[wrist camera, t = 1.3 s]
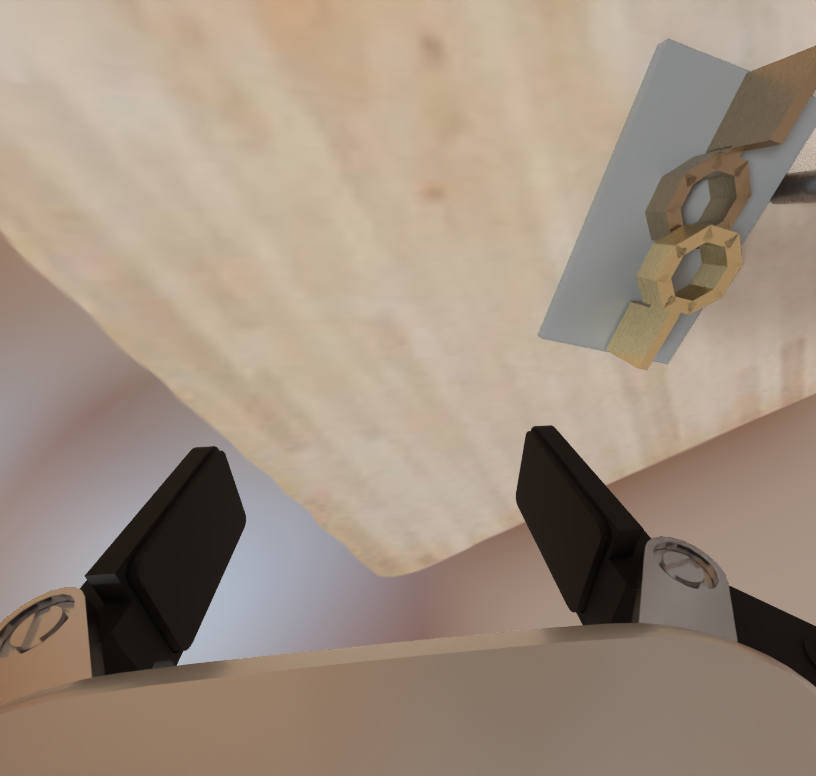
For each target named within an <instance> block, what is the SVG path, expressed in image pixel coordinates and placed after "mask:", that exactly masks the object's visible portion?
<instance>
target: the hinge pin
mask: <svg viewBox="0 0 816 776" xmlns="http://www.w3.org/2000/svg"><path fill="white" fill-rule="evenodd" d="M770 201H771V202H772V203H773V204H788V203H814V202H816V170H814V171H805V172H796V173H788V174H786V175H785V176H784V178H783V180H782V181H781V183H780V184H779V186H778V188H777V189H776V191H775V192H774V194H773V196H772V197H771V199H770Z"/></svg>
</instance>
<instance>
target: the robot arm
mask: <svg viewBox="0 0 816 776" xmlns="http://www.w3.org/2000/svg"><path fill="white" fill-rule="evenodd" d="M516 502H517V505H518V507H519V509H520V511H521V513H522V515H523V517H524V520H525V522H526V524H527V526H528V527H529V530H530V532H531V534H532V536H533V538H534V540H535V542H536V543H537V546H538V548H539V550H540V551H541V553H542V556H543V558H544V560H545V562H546V564H547V566H548V568H549V570H550V572H551V574H552V576H553V578H554V580H555V582H556V584H557V586H558V588H559V590H560V592H561V594H562V596H563V598H564V600H565V602H566V604H567V606H568V608H569V609H570V610H571V611H572V612H576V613H577V615H578V617H579V618H580V620H581V623H582V624H583V625H582V626H570V627H556V628H543V629H533V630H522V631H511V632H501V633H490V634H479V635H469V636H458V637H448V638H437V639H427V640H418V641H408V642H397V643H387V644H378V645H367V646H358V647H348V648H338V649H328V650H318V651H309V652H299V653H291V654H281V655H271V656H262V657H252V658H243V659H233V660H224V661H214V662H205V663H196V664H188V665H181V666H177V663H178V661H179V659H180V657H181V655H182V653H183V651H186V650H187V649H188V648H189V647H190V646H191V644H192V643H193V641H194V638H195V636H196V634H197V632H198V630H199V627H200V625H201V623H202V621H203V618H204V616H205V614H206V612H207V610H208V607H209V605H210V603H211V601H212V598H213V596H214V594H215V592H216V589H217V587H218V585H219V583H220V580H221V578H222V576H223V574H224V572H225V570H226V567H227V565H228V563H229V560H230V558H231V556H232V554H233V552H234V550H235V547H236V545H237V543H238V541H239V539H240V536H241V534H242V532H243V529H244V527H245V524H246V515H245V511H244V509H243V506H242V503H241V500H240V497H239V494H238V491H237V488H236V485H235V482H234V479H233V476H232V473H231V470H230V467H229V464H228V461H227V458H226V455H225V453H224V452H223V451H219V449H218V448H217V447H215V446H212V447H196V448H193V449H192V450H191V451H190V452H189V453H188V454H187V456H186V457H185V458H184V459H183V460H182V461H181V463H180V464H179V465H178V466H177V468H176V469H175V470H174V471H173V472H172V473H171V474H170V476H169V477H168V478H167V479H166V480H165V482H164V483H163V484H162V485H161V486H160V487H159V489H158V490H157V491H156V492H155V493H154V495H153V496H152V497H151V498H150V499H149V501H148V502H147V503H146V504H145V505H144V506H143V508H142V509H141V510H140V511H139V512H138V514H137V515H136V516H135V517H134V518H133V519H132V521H131V522H130V523H129V524H128V525H127V526H126V528H125V529H124V530H123V531H122V532H121V534H120V535H119V536H118V537H117V538H116V539H115V541H114V542H113V543H112V544H111V545H110V547H109V548H108V549H107V550H106V551H105V552H104V554H103V555H102V556H101V557H100V558H99V560H98V561H97V562H96V563H95V564H94V565H93V567H92V568H91V569H90V570H89V571H88V573H87V574H86V575H85V577H86V579H87V581H86V582H85V583H84V584H83V586H82V587H81V588H80V589H78V588H76V587H64V588H60V589H57V590H52V591H49V592H47V593H45V594H43V595H40V596H38V597H36V598H34V599H32V600H31V601H29V602H28V603H26V604H24V605H22V606H21V607H19V608H18V609H17V610H16V611H14V612H13V613H12V614H10V615H9V616H7V617H6V618H5V619H4V620H3V621H2V622H1V623H0V776H816V626H814V625H812V624H810V623H808V622H805V621H803V620H801V619H799V618H797V617H795V616H793V615H791V614H788V613H786V612H784V611H782V610H780V609H778V608H776V607H774V606H771V605H769V604H767V603H765V602H763V601H761V600H759V599H757V598H755V597H752V596H750V595H748V594H746V593H744V592H742V591H739V590H738V589H735V588H733V587H731V586H729V584H728V581H727V578H726V575H725V573H724V572H723V570H722V569H721V568H720V567H719V565H718V564H717V563H716V562H715V561H714V560H713V559H712V558H710V557H709V556H708V555H707V554H706V553H704V552H703V551H701V550H700V549H698V548H697V547H695V546H693V545H691V544H689V543H687V542H685V541H682V540H678V539H675V538H671V537H662V536H661V537H655V538H652V539H651V538H650V537H649V536H648V535H647V533H646V532H645V531H644V529H643V528H642V527H641V526H640V524H639V523H638V522H637V521H636V520H635V519H634V518H633V516H632V515H631V514H630V513H629V512H628V511H627V510H626V508H625V507H624V506H623V505H622V504H621V503H620V502H619V501H618V499H617V498H616V497H615V496H614V495H613V494H612V493H611V491H610V490H609V489H608V488H607V487H606V486H605V484H604V483H603V482H602V481H601V480H600V479H599V478H598V476H597V475H596V474H595V473H594V472H593V471H592V470H591V468H590V467H589V466H588V465H587V464H586V463H585V462H584V460H583V459H582V458H581V457H580V456H579V455H578V454H577V452H576V451H575V450H574V449H573V448H572V447H571V446H570V444H569V443H568V442H567V441H566V440H565V439H564V438H563V436H562V435H561V434H560V433H559V432H558V431H557V430H556V428H555V427H553V426H551V425H549V426H534V427H533V428H532V429H531V431H528V432H527V433H526V437H525V443H524V449H523V455H522V461H521V467H520V473H519V479H518V485H517V491H516Z"/></svg>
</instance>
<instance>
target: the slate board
mask: <svg viewBox="0 0 816 776" xmlns="http://www.w3.org/2000/svg"><path fill="white" fill-rule="evenodd" d="M748 72H751V71H748V70H746V69H743V68H741V67H738V66H736V65H733V64H731V63H728V62H726V61H723V60H721V59H718V58H716V57H713V56H711V55H708V54H706V53H703V52H701V51H698V50H696V49H693V48H691V47H688V46H686V45H683V44H681V43H678V42H676V41H673V40H671V39H667V40H665V41H664V42H662V43H660V44H659V45H658V46H657V48H656V51H655V53H654V55H653V58H652V60H651V63H650V65H649V67H648V70H647V72H646V75H645V77H644V80H643V82H642V84H641V87H640V89H639V92H638V94H637V96H636V99H635V101H634V104H633V106H632V109H631V111H630V113H629V116H628V118H627V121H626V123H625V126H624V128H623V130H622V133H621V135H620V138H619V140H618V142H617V145H616V147H615V150H614V152H613V155H612V157H611V159H610V162H609V164H608V167H607V169H606V172H605V174H604V176H603V179H602V181H601V184H600V186H599V188H598V191H597V193H596V196H595V198H594V201H593V203H592V205H591V208H590V210H589V213H588V215H587V217H586V220H585V222H584V225H583V227H582V230H581V232H580V234H579V237H578V239H577V242H576V244H575V247H574V249H573V251H572V254H571V256H570V259H569V261H568V263H567V266H566V268H565V271H564V273H563V276H562V278H561V280H560V283H559V285H558V288H557V290H556V292H555V295H554V297H553V300H552V302H551V305H550V307H549V309H548V312H547V314H546V317H545V319H544V322H543V324H542V326H541V329H540V331H539V334H538V336H539V337H541V338H542V339H547V340H552V341H556V342H561V343H566V344H571V345H576V346H581V347H586V348H591V349H596V350H601V351H605V352H609V351H607V350H606V348H607V346H608V344H609V342H610V340H611V338H612V336H613V334H614V332H615V330H616V329H617V327H618V325H619V323H620V321H621V319H622V317H623V315H624V313H625V311H626V309H627V307H628V305H629V304H630V302H634V303H638V304H642V305H645V306H648V307H650V306H651V305H650V304H647V303H644V302H643V300H642V297H641V293H640V289H639V286H638V282H637V278H636V275H637V273H638V271H639V269H640V267H641V265H642V264H643V262H644V260H645V258H646V256H647V254H648V252H649V250H650V248H651V246H652V244H653V243H654V242H656V241H652V240H651V236H650V232H649V228H648V224H647V219H646V215H645V211H646V208H647V206H648V204H649V202H650V200H651V198H652V196H653V194H654V192H655V190H656V188H657V186H658V184H659V181H660V179H661V177H662V176H664V175H665V174H667V173H669V172H670V171H672V170H673V169H675V168H676V167H678V166H680V165H681V164H683V163H684V162H686V161H687V160H689V159H691V158H692V157H694V156H699V155H704V154H706V153H705V152H706V151H707V149H708V147H709V145H710V143H711V141H712V139H713V137H714V135H715V133H716V131H717V129H718V127H719V125H720V123H721V122H722V120H723V118H724V116H725V114H726V112H727V110H728V108H729V106H730V104H731V102H732V100H733V98H734V96H735V94H736V92H737V91H738V89H739V87H740V85H741V83H742V81H743V79H744V77H745V75H746V73H748ZM815 127H816V97H813V96H811V97H810V98H809V100H808V102H807V103H806V105H805V107H804V109H803V110H802V112H801V114H800V115H799V117H798V119H797V120H796V122H795V124H794V125H793V127H792V129H791V130H790V132H789V134H788V135H787V137H786V139H785V140H784V142H783V144H780V145H775V146H770V147H764V148H759V149H754V150H748V151H743V152H742V153H741V155H740V157H739V158H741V159H744V160H747V161H748V162H749V173H750V184H751V196H750V198H749V200H748V201H747V203H746V205H745V206H744V208H743V210H742V211H741V213H740V215H739V216H738V218H737V220H736V221H735V223H734V225H733V227H732V228H731V230H730V231H733V232H737V233H739V236H740V245H741V246H742V244H743V242H744V241H745V239H746V237H747V236H748V234H749V233H750V231H751V229H752V228H753V226H754V225H755V223H756V221H757V220H758V218H759V217H760V215H761V213H762V212H763V210H764V209H765V207H766V205H767V204H768V202H769V201H770V199H771V197H772V196H773V194H774V192H775V191H776V189H777V188H778V186H779V184H780V183H781V181H782V180H783V178H784V176H785V175H786V173H787V172H788V170H789V168H790V167H791V165H792V164H793V162H794V160H795V159H796V157H797V155H798V154H799V152H800V151H801V149H802V147H803V146H804V144H805V143H806V141H807V139H808V138H809V136H810V135H811V133H812V131H813V130H814V128H815ZM709 201H710V193H709V186H708V179H706V178H702V179H700V180H699V181H697V182H696V183H694V184H693V185H692V187H691V189H690V191H689V193H688V195H687V197H686V199H685V201H684V203H683V205H682V206H681V208H680V209H681V215H682V220H683V225H685V224H695V223H696V222H698V221H699V219H700V217H701V215H702V214H703V212H704V210H705V208H706V206H707V205H708V203H709ZM701 265H702V260H701V254H700V248H699V249H694V250H692V251H690V252H688V253H687V254H685V255H684V256H683V258H682V259H681V261H680V263H679V265H678V267H677V268H676V270H675V272H674V274H673V276H672V277H671V280H672V284H673V289H674V293H675V292H677V291H679V290H680V289H682V288H684V287H686V286H687V285H689V284H690V283H691V282H692V280H693V278H694V276H695V275H696V273H697V271H698V270H699V268H700V266H701ZM701 310H702V308H701V309H699V310H697V311H696V312H694V313H692V314H690V315H688V314H684V313H680V315H679V316H678V317H679V318H678V319H677V321H676V323H675V325H674V326H673V328H672V330H671V331H670V333H669V335H668V336H667V338H666V340H665V341H664V343H663V345H662V346H661V348H660V350H659V351H658V353H657V355H656V356H655V358H654V360H653V361H654V362H659V363H664V364H668V363H669V361H670V360H671V358H672V356H673V355H674V353H675V352H676V350H677V348H678V347H679V345H680V344H681V342H682V340H683V339H684V337H685V336H686V334H687V332H688V331H689V329H690V328H691V326H692V324H693V323H694V321H695V319H696V318H697V316H698V315H699V313H700V311H701ZM610 353H611V352H610Z"/></svg>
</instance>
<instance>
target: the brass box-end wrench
mask: <svg viewBox="0 0 816 776" xmlns="http://www.w3.org/2000/svg"><path fill="white" fill-rule="evenodd" d="M697 247H699V248H700V254H701V260H702V265H701V266H700V268H699V270H698V271H697V273H696V275H695V276H694V278H693V280H692V282H691V283H690V284H689V285H687V286H686V287H684V288H682V289H680V290H679V291H677V292H675V293H674V289H673V284H672V280H671V277H672V276H673V274H674V272H675V270H676V268H677V267H678V265H679V263H680V261H681V259H682V258H683V256H684V255H685V254H687V253H688V252H690V251H692V250H694V249H695V248H697ZM742 265H743V262H742V253H741V245H740V236H739V233H737V232H733V231H730V230H727V229H723V228H720V227H716V226H713V225H694V224H685V225H683V226H681V227H680V228H678V229H676V230H675V231H673V232H671V233H670V234H668V235H666V236H665V237H663V238H661V239H659V240H658V241H656V242H654V243H653V244H652V246H651V248H650V250H649V252H648V254H647V256H646V258H645V260H644V262H643V264H642V265H641V267H640V269H639V271H638V273H637V275H636V278H637V282H638V286H639V289H640V293H641V297H642V300H643V302H644V303H647V304H650V305H651V306H650V307H648V306H645V305H642V304H638V303H634V302H630V304H629V305H628V307H627V309H626V311H625V313H624V315H623V317H622V319H621V321H620V323H619V325H618V327H617V329H616V330H615V332H614V334H613V336H612V338H611V340H610V342H609V344H608V346H607V348H606V350H607V351H609V352H611V353H612V354H614V355H616V356H617V357H619V358H621V359H623V360H624V361H626V362H628V363H629V364H631V365H633V366H635V367H636V368H639V369H644V370H648V368H649V366H650V365H651V363H652V361H653V360H654V358H655V356H656V355H657V353H658V351H659V350H660V348H661V346H662V345H663V343H664V341H665V340H666V338H667V336H668V335H669V333H670V331H671V330H672V328H673V326H674V325H675V323H676V321H677V319H678V318H679V317H678V316H679V315H680V313H684V314H688V315H690V314H692V313H694V312H696V311H697V310H699V309H701V308H703V307H705V306H707V305H708V304H710V303H712V302H714V301H716V300H718V299H719V298H721V297H722V296H723V294H724V293H725V291H726V290H727V288H728V286H729V285H730V283H731V282H732V280H733V279H734V277H735V276H736V274H737V272H738V271H739V269H740V268H741V266H742Z"/></svg>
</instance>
